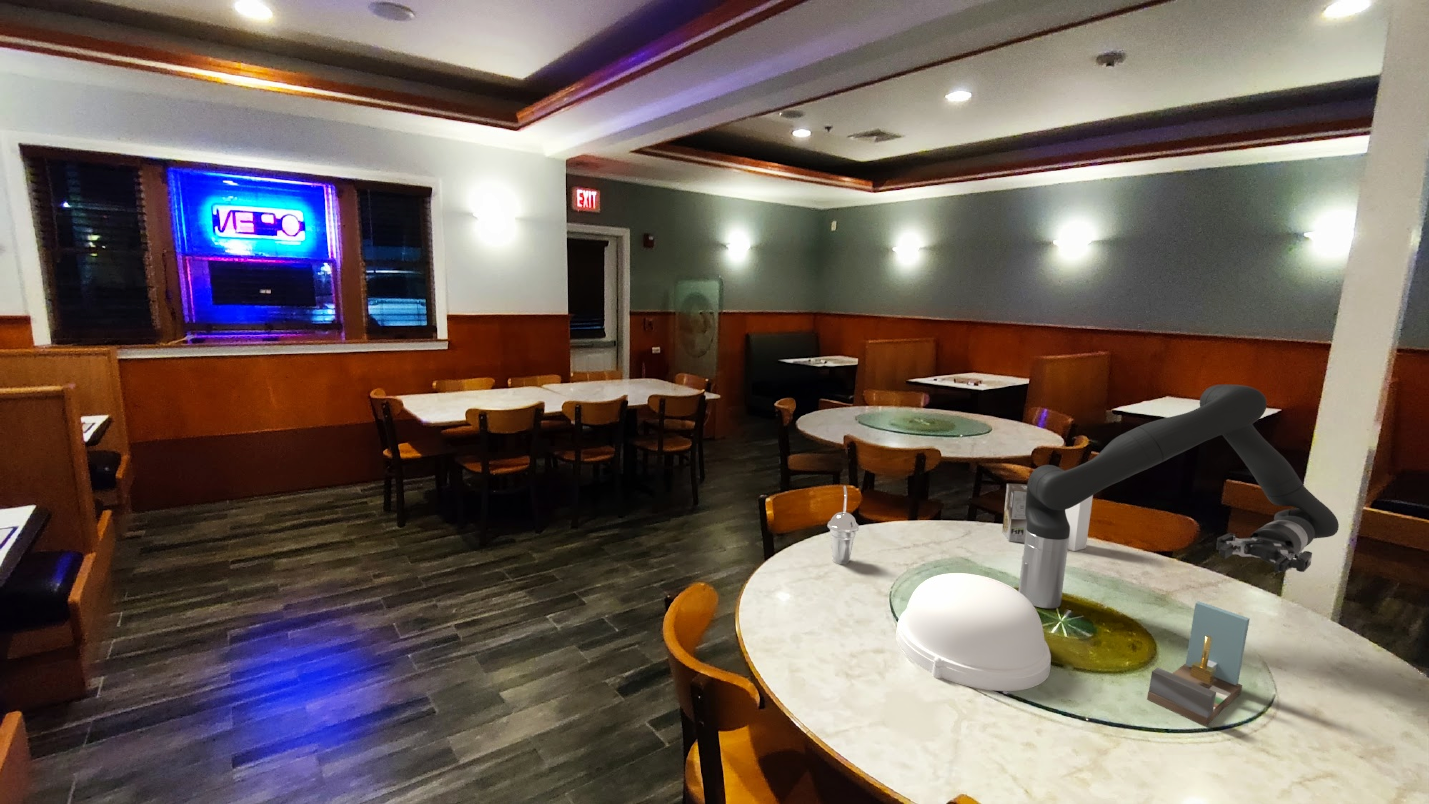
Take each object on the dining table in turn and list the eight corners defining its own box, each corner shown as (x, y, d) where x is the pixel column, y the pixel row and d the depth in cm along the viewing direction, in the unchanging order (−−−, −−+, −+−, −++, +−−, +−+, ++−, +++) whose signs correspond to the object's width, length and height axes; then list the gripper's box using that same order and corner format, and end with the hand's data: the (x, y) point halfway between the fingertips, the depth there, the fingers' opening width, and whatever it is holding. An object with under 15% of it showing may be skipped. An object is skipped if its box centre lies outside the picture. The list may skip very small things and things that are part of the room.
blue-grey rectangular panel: (1188, 662, 127) (1198, 601, 125) (1238, 682, 121) (1249, 618, 119) (1179, 669, 125) (1189, 606, 122) (1229, 690, 118) (1241, 624, 116)
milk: (1086, 548, 192) (1096, 477, 188) (1074, 551, 189) (1084, 479, 185) (1066, 541, 197) (1076, 472, 194) (1054, 544, 194) (1063, 474, 191)
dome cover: (937, 600, 156) (942, 545, 153) (1072, 649, 135) (1080, 587, 133) (866, 647, 133) (871, 583, 131) (1015, 716, 112) (1023, 641, 110)
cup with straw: (820, 561, 175) (824, 491, 172) (833, 551, 183) (838, 484, 180) (849, 570, 171) (854, 497, 167) (862, 559, 178) (867, 490, 175)
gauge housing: (1185, 669, 128) (1189, 644, 127) (1241, 692, 121) (1245, 665, 120) (1147, 699, 118) (1151, 671, 117) (1205, 726, 111) (1210, 697, 110)
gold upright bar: (1194, 672, 122) (1201, 631, 121) (1213, 680, 120) (1220, 638, 118) (1190, 676, 121) (1196, 634, 120) (1209, 684, 119) (1216, 641, 117)
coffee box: (1031, 543, 194) (1037, 492, 192) (1008, 541, 195) (1014, 490, 193) (1023, 533, 203) (1028, 484, 200) (1001, 531, 204) (1006, 482, 202)
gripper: (1239, 515, 141) (1208, 532, 133) (1326, 533, 129) (1298, 554, 121) (1236, 547, 142) (1205, 566, 134) (1321, 568, 131) (1293, 591, 122)
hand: (1249, 560), depth 127 cm, fingers open, 8 cm apart
